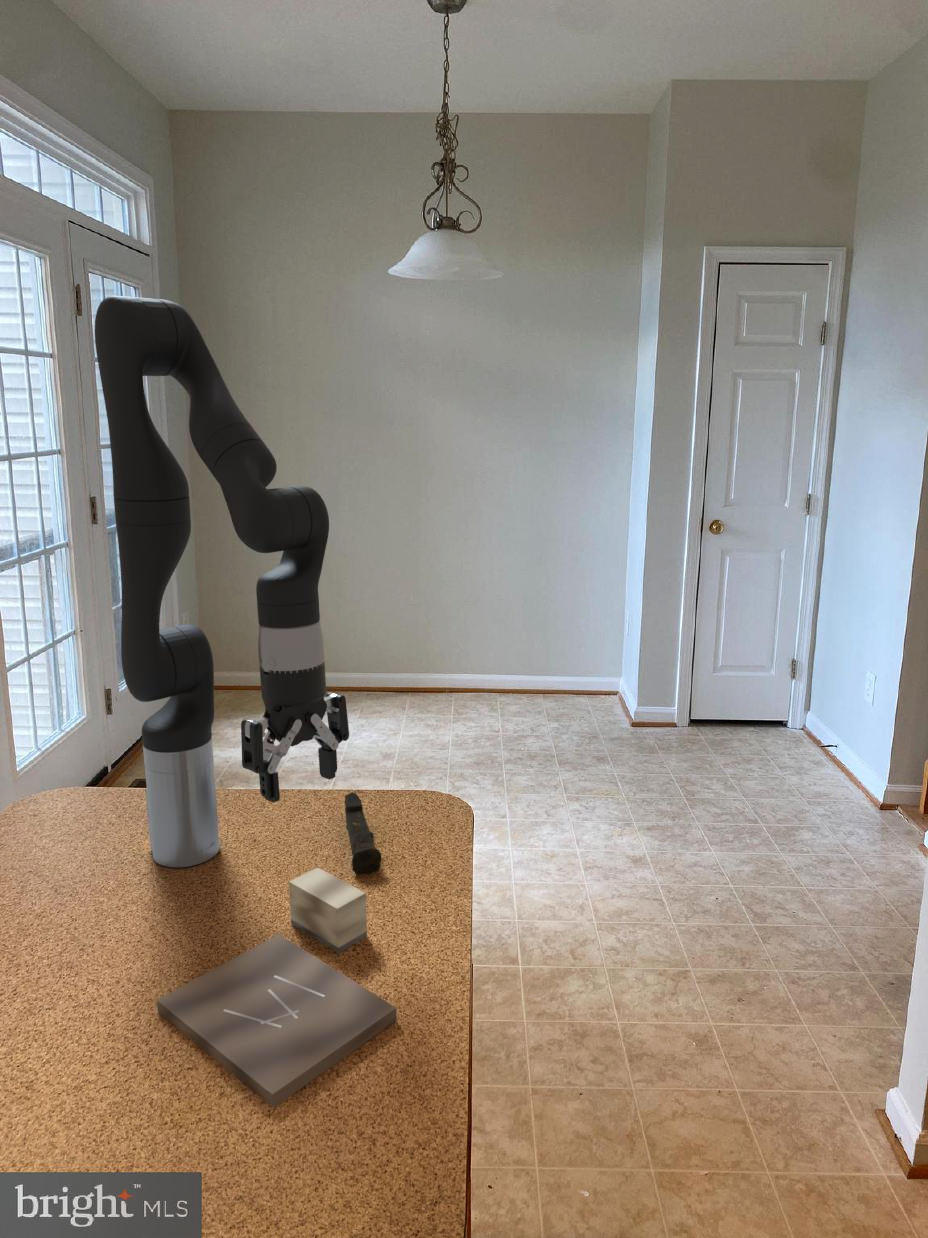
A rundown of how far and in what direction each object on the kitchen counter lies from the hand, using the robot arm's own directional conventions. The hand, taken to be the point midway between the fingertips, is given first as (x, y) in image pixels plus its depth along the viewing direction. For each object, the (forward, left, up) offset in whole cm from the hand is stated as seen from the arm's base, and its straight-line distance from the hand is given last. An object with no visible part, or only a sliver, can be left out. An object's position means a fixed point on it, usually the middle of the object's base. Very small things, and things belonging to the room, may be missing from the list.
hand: (300, 788), depth 108 cm
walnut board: (+12, -14, -18) cm, 25 cm away
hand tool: (-10, +17, -18) cm, 27 cm away
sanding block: (+4, 0, -18) cm, 18 cm away
